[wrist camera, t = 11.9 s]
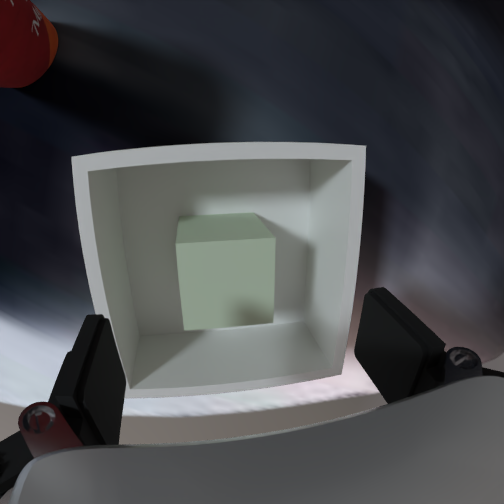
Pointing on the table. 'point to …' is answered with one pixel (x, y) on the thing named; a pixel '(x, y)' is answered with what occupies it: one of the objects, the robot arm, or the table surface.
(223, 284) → the green block
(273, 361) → the bin
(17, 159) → the table surface
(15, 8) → the paper cup
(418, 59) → the table surface
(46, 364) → the table surface
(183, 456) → the robot arm
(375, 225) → the table surface
